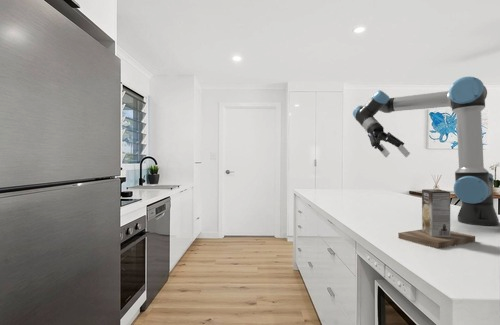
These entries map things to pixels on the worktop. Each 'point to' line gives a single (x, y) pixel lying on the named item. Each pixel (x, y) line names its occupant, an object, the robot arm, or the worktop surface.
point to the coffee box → (436, 212)
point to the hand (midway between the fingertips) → (398, 155)
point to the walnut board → (436, 239)
